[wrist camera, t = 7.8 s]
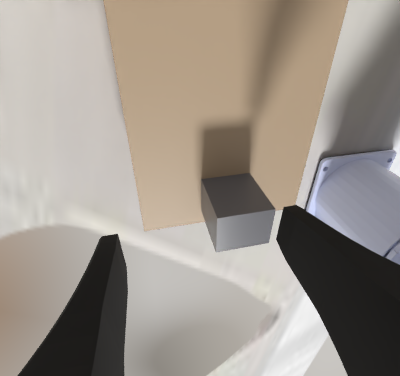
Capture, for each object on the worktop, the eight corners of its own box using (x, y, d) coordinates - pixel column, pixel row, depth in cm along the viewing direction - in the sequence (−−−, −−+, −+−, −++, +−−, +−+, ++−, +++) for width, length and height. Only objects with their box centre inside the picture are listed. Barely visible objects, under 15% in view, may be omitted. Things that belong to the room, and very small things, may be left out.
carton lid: (290, 202, 19) (323, 244, 16) (143, 224, 17) (147, 277, 14) (358, -78, 11) (462, -114, 7) (87, -93, 9) (64, -150, 5)
